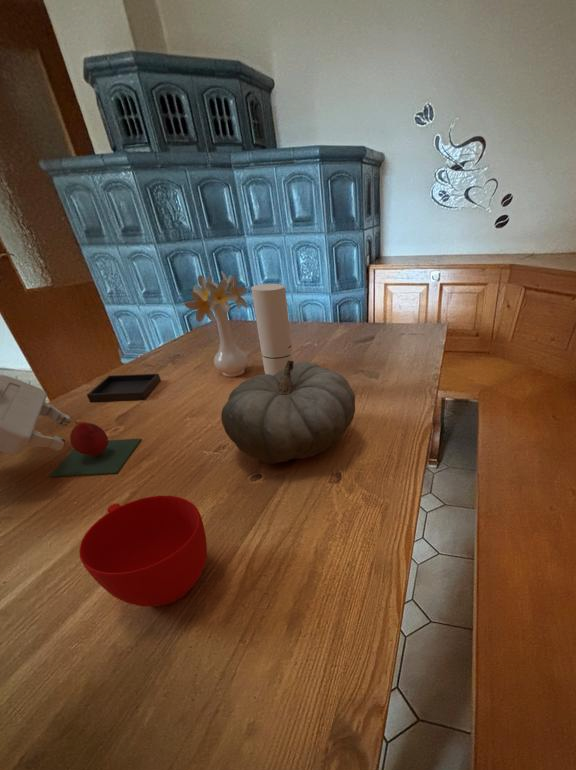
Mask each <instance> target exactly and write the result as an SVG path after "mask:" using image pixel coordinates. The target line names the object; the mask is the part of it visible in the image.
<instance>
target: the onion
mask: <svg viewBox="0 0 576 770" xmlns="http://www.w3.org/2000/svg"><path fill="white" fill-rule="evenodd" d="M74 422H75V424H76V425H75V426H74V427H73V428H72V430H71V433H70V435H69V441H70V444H71V446H72V448H73V450H74V449H75V450H76V451H78V452H79V453H81V454H84V455H89V456H93V457H98V456H100V455H101V454H102V453H103V452H104V451H105V449H106V447H107V446H108V440H109V438H108V435H107V434H106V431H105V430H104V429H103V428H102V427H100V426H99V425H96V424H95V423H91V422H86V421H82V420H81V419H76V420H75V421H74Z"/></svg>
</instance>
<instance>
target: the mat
mask: <svg viewBox="0 0 576 770" xmlns="http://www.w3.org/2000/svg"><path fill="white" fill-rule="evenodd" d="M141 442H142V438H127V439H124V438H123V439H108V446H107V447H106V449H105V451H104V452H103V453H102V454H101V455H100V456H98V457H93V456H89V455H84V454H81V453H79V452H78V451H76V450H75V449H74V448H73V449H72V451H71V452H70V453H69V454H68V455H67V456H66V457H65V458H64V459H63V460H62V461H61V462H60V464H58V466H57V467H55V469H54V470H52V472H50V474H49V475H48V477H49V478H67V477H86V476H103V475H104V476H105V475H118V474H119V472H121V470H122V468H124V465H125V464H126V463H127V461H128V460H129V458H130V457H131V456H132V454H133V453H134V452H135V450H136V449H137V447H138V445H140V443H141Z"/></svg>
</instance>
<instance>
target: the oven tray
mask: <svg viewBox="0 0 576 770" xmlns="http://www.w3.org/2000/svg"><path fill="white" fill-rule="evenodd" d="M160 382H162V379H161V376H160V374H159V373H143V374H142V373H141V374H140V373H139V374H117V375H116V374H115V375H113V374H112V375H107V376H106V377H105V378H104V379H103V380H101V382H99V383H98V384H97V385H96V386H95V387H94V388H93V389H91V391H89V392H88V393H87V394H86V397H87V398H88V401H89V402H90V403H104V402H105V403H107V402H127V401H129V402H130V401H146V399H147V398H148V397H149V396H150V394H151V393H152V392H153V391H154V390H155V389H156V387H157V386H158V385H159V384H160Z"/></svg>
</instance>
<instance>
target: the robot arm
mask: <svg viewBox="0 0 576 770" xmlns="http://www.w3.org/2000/svg"><path fill="white" fill-rule="evenodd" d="M47 397H48V393H47V392H46V391H45V390H44V389H41V388H39V387H37V386H35V385H33V384H30V383H28V382H25V381H22V380H20V379H17V378H14V377H11V376H8V375H5V374H0V453H5V454H9V455H20V454H22V453H23V452H24V450H25V449H26V447H27V446H28V445H29V446H32V447H35V448H36V447H37V448H50V449H52V450H55V451H61V450H62V449H63V448H64V446H65V443H66V439H65V438H63V437H60V436H57V435H55V434H54V435H53V436H50V435H45V434H42V432H40V431H37V430H35V428H36V425H37V423H38V420H39V417H40V416H43V417H48V418H50V419H52V420H53V421H55V424H57V425H61V426H62V427H68V425H69V424H70V422H71V419H72V418H71V416H70V415H68V414H66V413H63V412H62V411H60V410H59V409H58V408H57V407H56V406H54V405H52V404H51V403H48V402H46V399H47Z"/></svg>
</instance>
